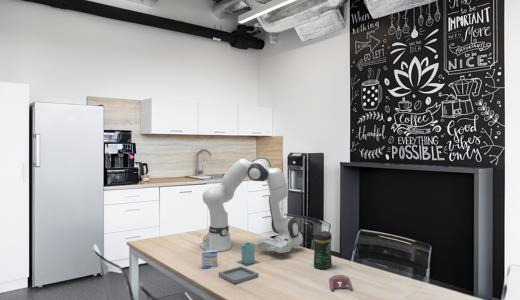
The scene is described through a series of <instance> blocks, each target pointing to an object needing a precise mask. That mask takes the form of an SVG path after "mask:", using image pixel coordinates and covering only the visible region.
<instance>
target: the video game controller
mask: <svg viewBox="0 0 520 300" xmlns="http://www.w3.org/2000/svg"><path fill="white" fill-rule="evenodd" d="M328 283H329V288H330V291H332V292H334V290H335V289H339V288H340V287H341V288H342V289H346V287H348V289H349V291H350V292H351V291H353V284H352V282H351V279H350V277H349V276H347V275H344V274H335V275H332V276H331V277H329V279H328ZM339 283H340V284H339Z"/></svg>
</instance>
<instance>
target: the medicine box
mask: <svg viewBox="0 0 520 300" xmlns="http://www.w3.org/2000/svg"><path fill="white" fill-rule="evenodd" d="M201 267H202V269H203V270H207V269H208V270H209V269H212V268H215V267H216V268H217V267H218V251H217V250H201Z"/></svg>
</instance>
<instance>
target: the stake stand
mask: <svg viewBox="0 0 520 300" xmlns="http://www.w3.org/2000/svg"><path fill="white" fill-rule="evenodd" d="M236 263H237V264H239V265H240V266H243V267H245V268H247V267H251V266H253V265H256V264H260V263H262V262H261V261H258V260H255V262H254V263H250V264H245V263H243V262H242V259H240V260H238V261H236Z"/></svg>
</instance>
